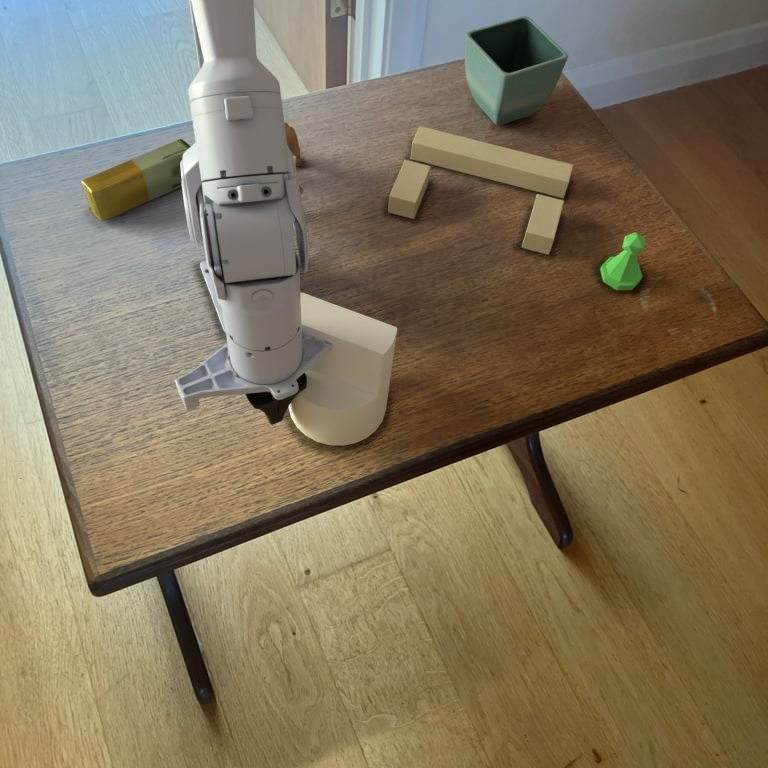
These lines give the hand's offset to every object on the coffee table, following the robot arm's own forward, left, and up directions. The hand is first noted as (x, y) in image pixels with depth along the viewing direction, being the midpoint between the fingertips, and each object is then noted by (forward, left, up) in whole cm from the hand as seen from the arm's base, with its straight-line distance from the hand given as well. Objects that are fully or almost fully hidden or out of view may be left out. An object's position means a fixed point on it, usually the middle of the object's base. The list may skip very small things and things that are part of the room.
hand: (272, 414), depth 72 cm
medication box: (-32, -4, -2) cm, 32 cm away
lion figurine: (-27, +10, -2) cm, 29 cm away
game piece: (-5, +40, -2) cm, 40 cm away
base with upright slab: (0, +6, -2) cm, 7 cm away
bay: (-20, +31, -2) cm, 37 cm away
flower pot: (-33, +40, -2) cm, 52 cm away
